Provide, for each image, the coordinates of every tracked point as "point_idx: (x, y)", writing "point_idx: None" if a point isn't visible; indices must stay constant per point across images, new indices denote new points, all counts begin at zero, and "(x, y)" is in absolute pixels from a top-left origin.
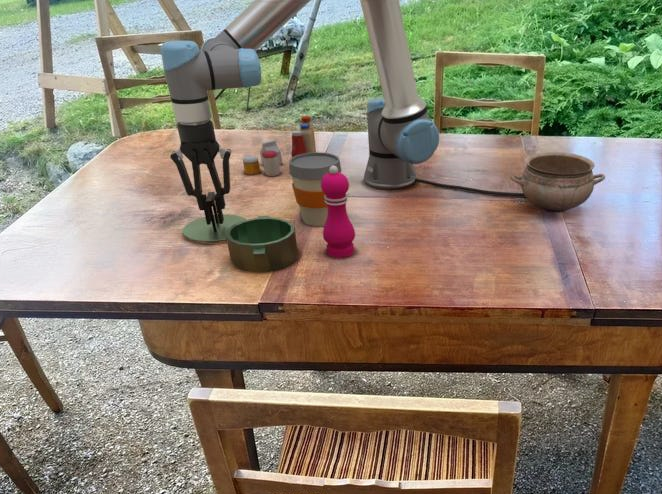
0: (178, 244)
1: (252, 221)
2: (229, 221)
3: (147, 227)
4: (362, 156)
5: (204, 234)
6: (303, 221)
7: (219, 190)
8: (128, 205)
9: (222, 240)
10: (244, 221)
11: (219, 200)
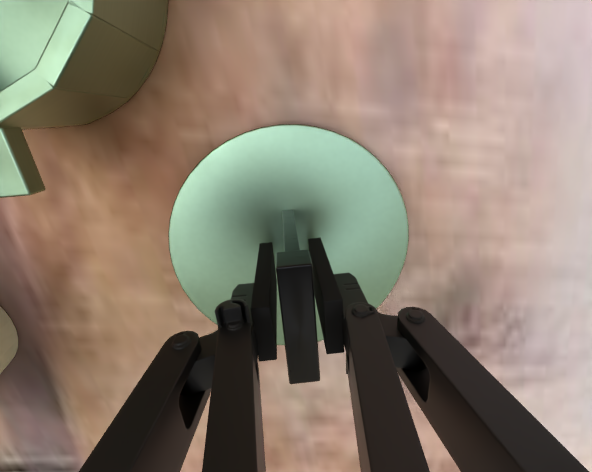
0: (413, 143)
1: (4, 91)
2: None
3: (517, 283)
4: None
5: (324, 187)
6: (2, 309)
7: (225, 344)
8: (562, 412)
9: (243, 133)
10: (38, 68)
11: (249, 308)
